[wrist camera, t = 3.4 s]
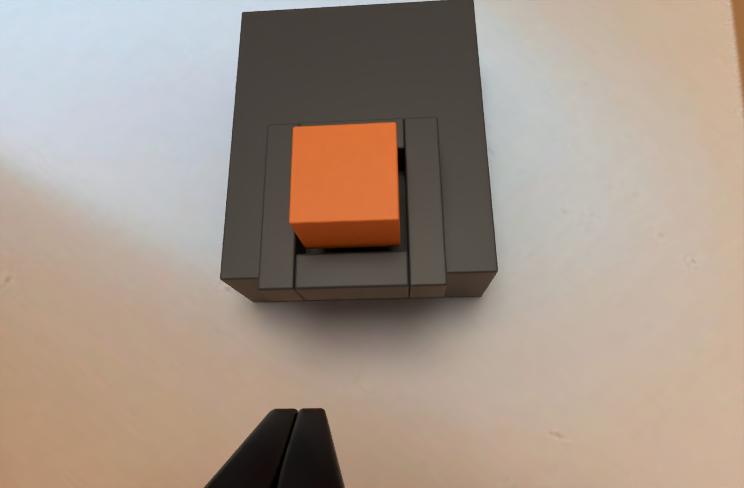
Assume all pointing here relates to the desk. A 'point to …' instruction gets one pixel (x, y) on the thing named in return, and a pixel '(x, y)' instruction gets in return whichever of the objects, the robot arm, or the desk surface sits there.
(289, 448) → the robot arm
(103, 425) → the desk surface
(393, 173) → the orange cube
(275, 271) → the grey socket base
